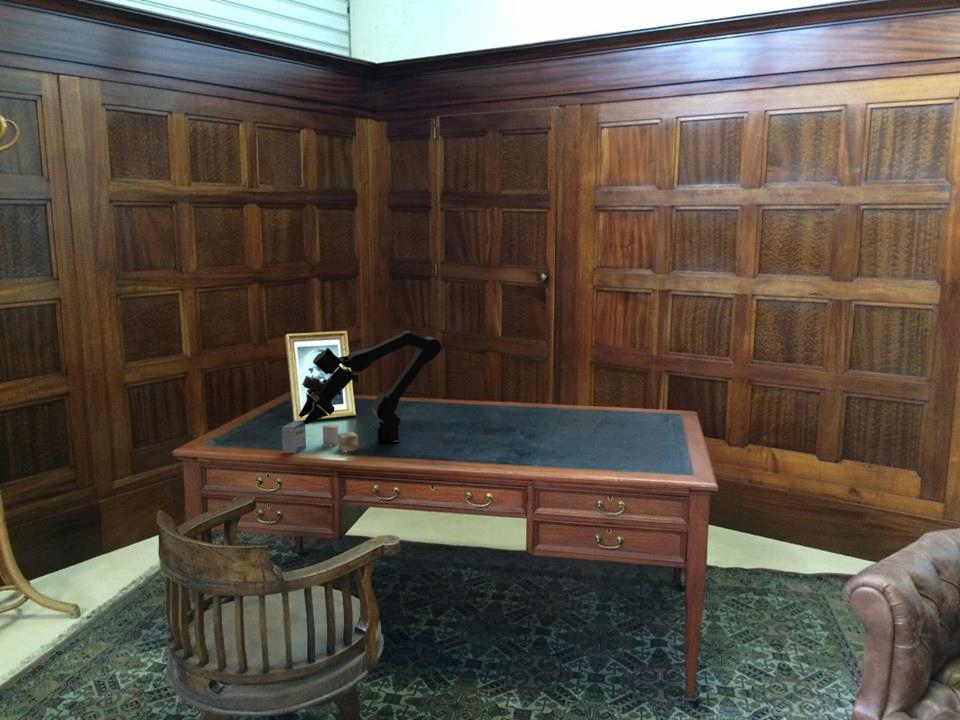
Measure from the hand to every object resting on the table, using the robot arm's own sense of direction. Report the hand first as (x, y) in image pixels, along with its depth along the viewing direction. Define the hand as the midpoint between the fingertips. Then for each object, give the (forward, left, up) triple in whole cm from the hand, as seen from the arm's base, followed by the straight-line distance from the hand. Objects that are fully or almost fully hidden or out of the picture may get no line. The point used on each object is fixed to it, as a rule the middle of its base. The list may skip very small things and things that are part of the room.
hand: (302, 420), depth 253 cm
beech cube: (-14, +2, -10) cm, 17 cm away
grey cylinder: (-8, -5, -10) cm, 14 cm away
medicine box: (+3, +1, -10) cm, 10 cm away
